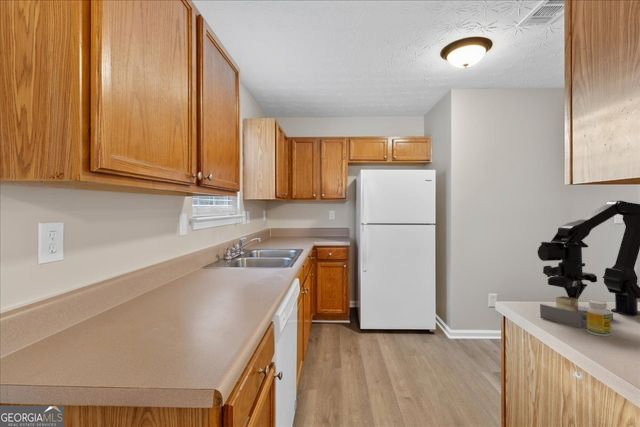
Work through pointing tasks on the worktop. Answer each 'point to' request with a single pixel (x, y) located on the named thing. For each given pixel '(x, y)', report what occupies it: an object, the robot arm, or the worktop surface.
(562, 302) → the maple block
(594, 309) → the supplement bottle
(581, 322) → the trap board
